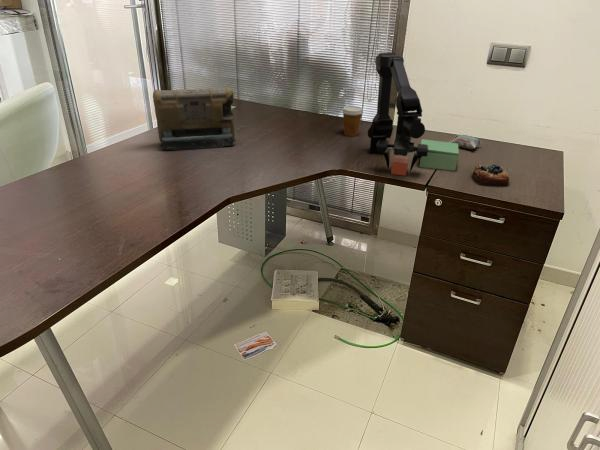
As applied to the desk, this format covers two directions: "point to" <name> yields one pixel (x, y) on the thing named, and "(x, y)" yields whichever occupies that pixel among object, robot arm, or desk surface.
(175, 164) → the desk surface
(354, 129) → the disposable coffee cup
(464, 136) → the packaged food
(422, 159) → the lunchbox
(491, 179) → the pastry
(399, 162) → the red cube
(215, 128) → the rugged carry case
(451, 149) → the lunchbox lid
